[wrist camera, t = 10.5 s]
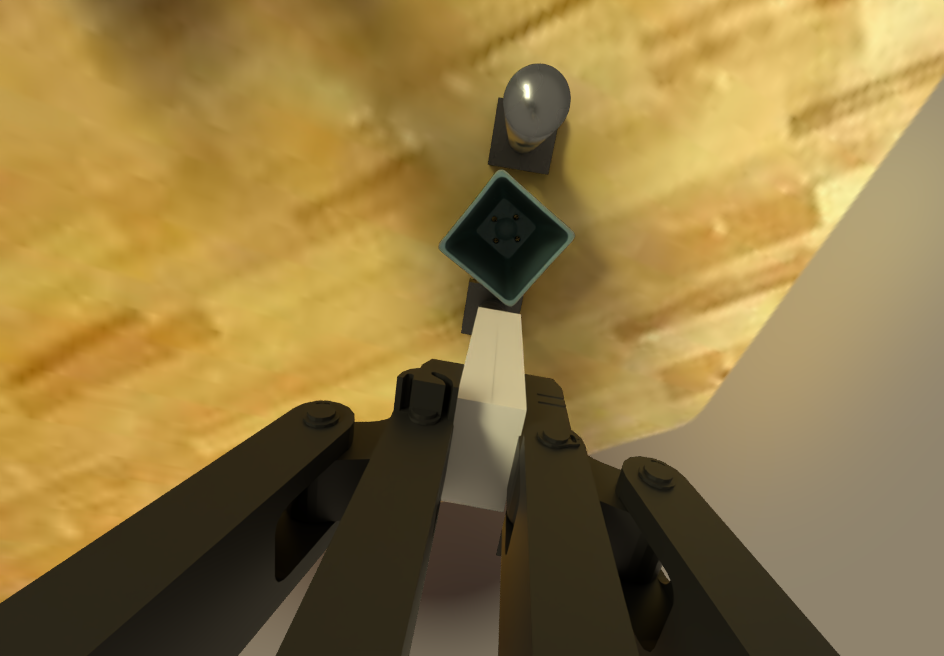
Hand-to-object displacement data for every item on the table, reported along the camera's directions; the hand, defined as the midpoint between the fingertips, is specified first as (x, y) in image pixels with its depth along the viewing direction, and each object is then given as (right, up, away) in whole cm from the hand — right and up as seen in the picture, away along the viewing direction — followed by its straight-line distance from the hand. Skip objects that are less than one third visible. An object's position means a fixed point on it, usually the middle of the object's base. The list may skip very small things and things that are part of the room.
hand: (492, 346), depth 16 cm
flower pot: (+3, +11, +32) cm, 34 cm away
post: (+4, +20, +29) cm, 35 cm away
